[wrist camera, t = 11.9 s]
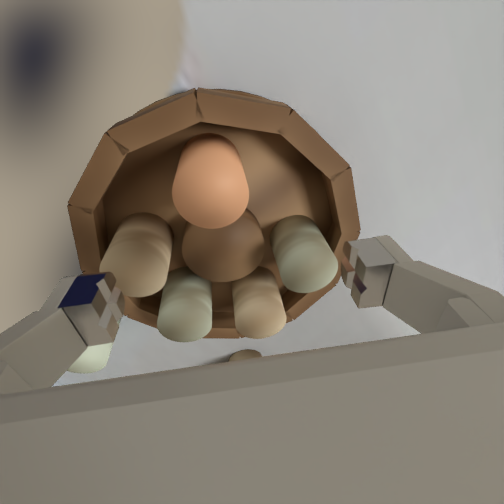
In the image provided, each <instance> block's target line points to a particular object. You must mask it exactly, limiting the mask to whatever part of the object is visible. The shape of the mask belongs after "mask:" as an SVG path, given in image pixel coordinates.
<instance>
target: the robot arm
mask: <svg viewBox="0 0 504 504" xmlns="http://www.w3.org/2000/svg"><path fill="white" fill-rule="evenodd" d="M343 253H344V255H345V257H344V259H343V260H342V261H341V276H342V279H343V282H344V284H345V286H346V287H348V288H350V289H352V290H351V296H352V298H353V300H354V302H355V303H356V305H357V307H358V308H367V307H376V306H383V307H384V308H385V309H386V310H388V311H389V312H391V313H392V314H394V315H395V316H397V317H398V318H400V319H401V320H402V321H404V322H405V323H407V324H408V325H410V326H411V327H413V328H414V329H416V330H417V331H418V332H420V333H421V334H417V335H410V336H404V337H397V338H390V339H383V340H376V341H369V342H362V343H355V344H348V345H341V346H334V347H327V348H320V349H313V350H306V351H299V352H292V353H285V354H278V355H271V356H264V357H257V358H250V359H243V360H236V361H229V362H222V363H215V364H208V365H202V366H195V367H188V368H181V369H174V370H167V371H160V372H153V373H146V374H139V375H132V376H125V377H118V378H111V379H104V380H97V381H90V382H83V383H76V384H69V385H62V386H56V387H51V386H52V385H53V384H54V383H55V382H56V381H57V380H58V379H59V378H60V377H61V376H62V375H63V374H64V373H65V372H66V371H67V369H68V368H69V367H70V366H71V365H72V364H73V363H74V362H75V361H76V360H77V359H78V358H79V357H80V356H81V355H82V353H83V352H84V351H85V350H86V349H87V348H88V347H89V346H95V345H101V344H107V343H113V342H114V340H115V337H116V334H117V331H118V328H119V325H118V323H117V321H118V320H119V319H120V318H121V317H123V314H124V311H125V299H124V295H123V293H122V291H121V290H120V289H118V288H117V287H115V283H116V281H117V280H116V278H115V276H114V274H113V273H111V272H100V273H91V274H82V275H73V276H66V277H63V278H61V280H60V281H59V283H58V284H57V286H56V287H55V288H54V290H53V291H52V293H51V294H50V296H49V297H48V299H47V300H46V302H45V303H44V304H43V306H42V307H41V309H40V310H39V311H35V312H33V313H31V314H30V315H28V316H27V317H25V318H24V319H22V320H21V321H19V322H18V323H16V324H15V325H13V326H12V327H10V328H8V329H7V330H6V331H4V332H2V333H1V334H0V504H504V296H502V295H501V294H500V293H499V292H498V291H495V290H492V289H490V288H487V287H485V286H482V285H480V284H477V283H475V282H472V281H469V280H467V279H464V278H462V277H459V276H457V275H454V274H451V273H449V272H446V271H444V270H441V269H439V268H436V267H433V266H431V265H428V264H426V263H423V262H421V261H413V260H412V259H411V258H410V256H409V255H408V254H407V253H406V252H405V251H404V250H403V249H402V248H401V247H400V246H399V245H398V244H397V243H396V242H395V241H394V240H393V239H392V238H391V237H390V236H388V235H384V236H378V237H373V238H367V239H360V240H353V241H345V243H344V245H343Z"/></svg>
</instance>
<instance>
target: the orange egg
mask: <svg viewBox="0 0 504 504" xmlns="http://www.w3.org/2000/svg"><path fill="white" fill-rule="evenodd" d="M172 198H173V202H174V205H175V207H176V209H177V211H178V212H179V214H180V215H181V216H182V217H183V218H184V219H185V220H187V221H188V222H190V223H191V224H193V225H195V226H198V227H201V228H207V229H217V228H222V227H225V226H228V225H230V224H232V223H233V222H235V221H236V220H237V219H238V218H239V217H240V216H241V215H242V214H243V213H244V211H245V209H246V207H247V205H248V201H249V188H248V184H247V180H246V177H245V173H244V169H243V166H242V162H241V159H240V155H239V152H238V150H237V148H236V147H235V145H234V144H233V143H232V142H231V141H230V140H229V139H227V138H226V137H224V136H222V135H220V134H216V133H202V134H199V135H197V136H195V137H193V138H192V139H190V140H189V141H188V142H187V143H186V145H185V146H184V148H183V150H182V152H181V156H180V160H179V164H178V167H177V171H176V175H175V179H174V182H173V187H172Z"/></svg>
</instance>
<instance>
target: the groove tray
mask: <svg viewBox="0 0 504 504" xmlns="http://www.w3.org/2000/svg"><path fill="white" fill-rule="evenodd" d="M202 133H216V134H220V135H222V136H224V137H226V138H227V139H229V140H230V141H231V142H232V143H233V144H234V145H235V147H236V148H237V150H238V152H239V155H240V159H241V162H242V166H243V169H244V173H245V177H246V180H247V184H248V188H249V201H248V205H247V207H246V209H245V211H244V213H243V214H242V215H241V216H240V217H239V218H238V219H237V220H236V221H235V222H233V223H232V224H230V225H228V226H225V227H222V228H217V229H207V228H201V227H198V226H195V225H193V224H191V223H190V222H188V221H187V220H185V219H184V218H183V217H182V216H181V215H180V214H179V212H178V211H177V209H176V207H175V205H174V202H173V198H172V187H173V182H174V179H175V175H176V171H177V167H178V164H179V160H180V156H181V152H182V150H183V148H184V146H185V145H186V143H187V142H188V141H189V140H190V139H192V138H193V137H195V136H197V135H199V134H202ZM68 203H69V204H68V206H67V207H68V211H69V216H70V221H71V226H72V230H73V235H74V239H75V244H76V249H77V254H78V259H79V263H80V268H81V270H82V271H83V272H82V273H83V274H91V273H100V272H111V273H113V274H114V276H115V278H116V280H117V281H116V283H115V287H117V288H118V289H120V290H121V291H122V293H123V295H124V299H125V311H124V315H125V316H126V315H128V316H127V317H128V318H131V319H133V320H136V321H139V322H141V323H144V324H147V325H149V326H152V327H155V328H157V329H158V330H159V332H160V333H161V334H162V335H163V336H164V337H166V338H167V339H170V340H173V341H177V342H192V341H196V340H199V339H201V338H239V337H241V338H243V337H248V338H253V339H261V338H266V337H270V336H272V335H274V334H276V333H278V332H279V331H280V330H281V329H282V328H283V327H284V325H285V323H288V322H291V321H292V319H294V320H295V319H296V318H297V317H298V316H300V315H301V314H302V313H303V312H304V311H306V310H307V309H308V308H309V307H310V306H312V305H313V304H314V303H315V302H316V301H318V300H319V299H320V298H321V297H322V296H324V295H325V294H326V293H327V292H328V291H330V290H331V289H332V288H333V287H334V286H336V284H337V283H338V281H339V279H340V276H341V261H342V260H343V259H344V257H345V255H344V253H343V245H344V243H345V241H353V240H357V239H358V236H359V234H360V230H361V229H360V223H359V216H358V210H357V203H356V197H355V190H354V184H353V177H352V171H351V167H350V165H349V164H348V163H347V162H346V161H345V160H344V159H343V158H342V157H341V156H340V155H339V154H338V153H337V152H336V151H335V150H334V149H333V148H332V147H331V146H330V145H329V144H328V143H327V142H326V141H325V140H324V139H323V138H322V137H321V136H320V135H319V134H318V133H317V132H316V131H315V130H314V129H313V128H312V127H311V126H310V125H309V124H308V123H307V122H306V121H305V120H304V119H303V118H302V117H300V116H299V115H298V114H297V113H296V112H295V111H294V110H293V109H292V108H291V107H289V106H288V105H287V104H284V103H283V102H277V101H271V100H268V99H266V98H264V97H261V96H258V95H254V94H250V93H246V92H242V91H235V90H225V89H205V88H199V87H198V90H196V89H195V88H193V89H191V90H189V91H187V92H184V93H179V94H175V95H172V96H170V97H167V98H164V99H161V100H158V101H156V102H154V103H152V104H151V105H149V106H147V107H145V108H143V109H141V110H140V111H138V112H137V113H135V114H134V115H133V116H131V117H129V118H126V119H124V120H122V121H120V122H118V123H116V124H115V125H114V126H112V127H111V128H110V129H109V130H108V131H107V132H105V133H104V135H103V137H102V139H101V141H100V143H99V144H98V147H97V148H96V150H95V152H94V154H93V156H92V158H91V160H90V162H89V163H88V165H87V167H86V169H85V171H84V173H83V175H82V177H81V179H80V181H79V182H78V184H77V186H76V188H75V190H74V192H73V194H72V196H71V198H70V200H69V201H68ZM335 283H336V284H335Z"/></svg>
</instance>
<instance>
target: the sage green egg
mask: <svg viewBox="0 0 504 504" xmlns="http://www.w3.org/2000/svg"><path fill="white" fill-rule="evenodd" d="M120 320H121V318H120V319H119V320H118V321H117V323H118V325H119V323H120ZM112 345H113V343H107V344H101V345H95V346H89V347H88V348H87V349H86V350H85V351H84V352H83V353H82V355H81V356H80V357H79V358H78V359H77V360H76V361H75V362H74V363H73V364H72V365H71V366H70V367H69V368H68V369H67V371H70V372H74V373H92V372H96V371H99V370H101V369H102V368H104V367H105V366H106V364H107V361H108V358H109V355H110V352H111V349H112Z"/></svg>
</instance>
